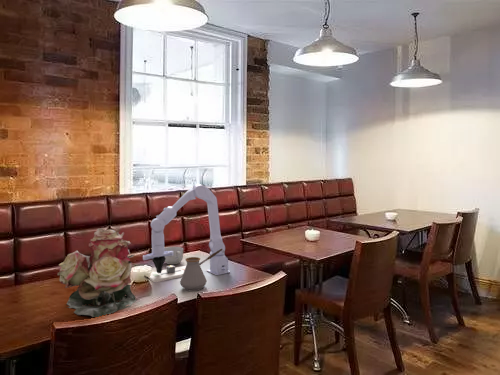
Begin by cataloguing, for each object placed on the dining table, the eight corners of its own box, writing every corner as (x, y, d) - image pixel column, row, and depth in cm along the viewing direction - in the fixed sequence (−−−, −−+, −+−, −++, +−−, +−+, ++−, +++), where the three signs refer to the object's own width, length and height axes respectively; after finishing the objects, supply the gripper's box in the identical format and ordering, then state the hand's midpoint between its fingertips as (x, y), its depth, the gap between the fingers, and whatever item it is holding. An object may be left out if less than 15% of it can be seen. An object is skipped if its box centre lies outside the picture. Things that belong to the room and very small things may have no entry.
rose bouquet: (52, 306, 158) (47, 230, 155) (122, 288, 179) (119, 220, 176) (79, 326, 140) (74, 240, 137) (154, 303, 160) (151, 227, 158)
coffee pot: (188, 294, 169) (187, 259, 168) (175, 287, 179) (174, 253, 177) (230, 284, 182) (230, 250, 181) (217, 277, 191) (216, 246, 190)
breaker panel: (197, 273, 198) (197, 271, 198) (153, 282, 185) (153, 279, 185) (186, 267, 208) (186, 265, 207) (144, 276, 195) (144, 273, 195)
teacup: (160, 261, 220) (160, 247, 219) (180, 259, 224) (180, 244, 224) (167, 268, 207) (166, 252, 206) (187, 265, 212) (187, 250, 211)
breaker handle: (175, 272, 196) (174, 266, 196) (169, 273, 194) (169, 267, 194) (172, 270, 198) (172, 264, 198) (166, 271, 197) (166, 266, 196)
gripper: (168, 240, 199) (169, 267, 200) (139, 244, 191) (141, 273, 192) (175, 243, 193) (176, 271, 194) (145, 247, 185) (146, 277, 186)
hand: (159, 272), depth 193 cm, fingers closed
